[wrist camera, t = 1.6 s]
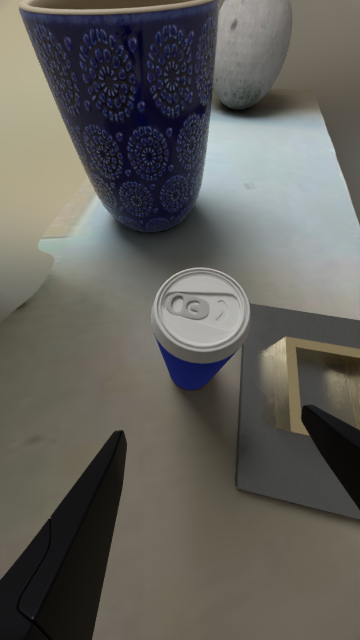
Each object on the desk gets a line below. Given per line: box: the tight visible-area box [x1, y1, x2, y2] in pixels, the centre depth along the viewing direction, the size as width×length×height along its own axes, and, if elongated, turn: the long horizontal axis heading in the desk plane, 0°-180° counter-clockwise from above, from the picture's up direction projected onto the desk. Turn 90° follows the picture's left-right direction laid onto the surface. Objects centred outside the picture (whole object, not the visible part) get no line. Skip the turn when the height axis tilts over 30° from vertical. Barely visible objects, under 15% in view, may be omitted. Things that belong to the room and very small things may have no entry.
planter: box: [19, 0, 219, 232], centre depth 26 cm, size 18×18×21 cm
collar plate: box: [235, 303, 360, 520], centre depth 19 cm, size 20×16×4 cm
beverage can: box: [151, 268, 250, 390], centre depth 15 cm, size 5×5×15 cm
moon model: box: [213, 0, 292, 110], centre depth 48 cm, size 20×20×20 cm
